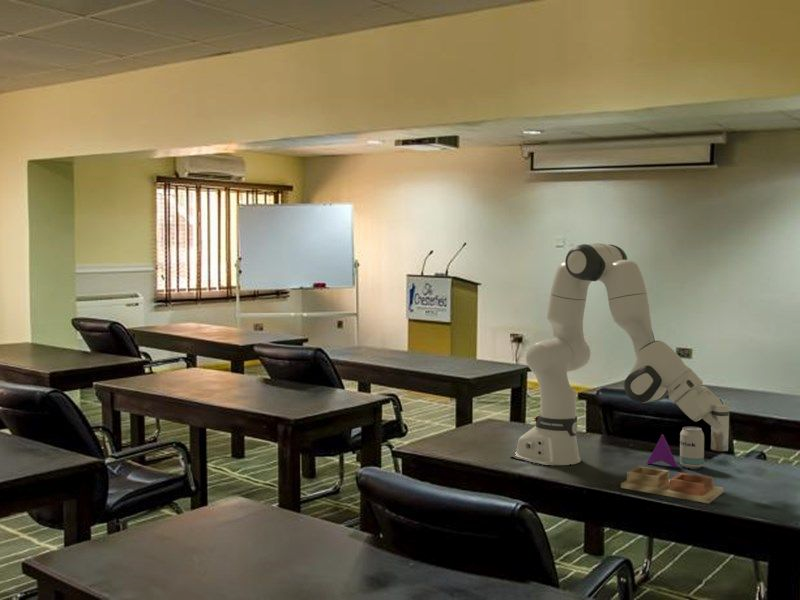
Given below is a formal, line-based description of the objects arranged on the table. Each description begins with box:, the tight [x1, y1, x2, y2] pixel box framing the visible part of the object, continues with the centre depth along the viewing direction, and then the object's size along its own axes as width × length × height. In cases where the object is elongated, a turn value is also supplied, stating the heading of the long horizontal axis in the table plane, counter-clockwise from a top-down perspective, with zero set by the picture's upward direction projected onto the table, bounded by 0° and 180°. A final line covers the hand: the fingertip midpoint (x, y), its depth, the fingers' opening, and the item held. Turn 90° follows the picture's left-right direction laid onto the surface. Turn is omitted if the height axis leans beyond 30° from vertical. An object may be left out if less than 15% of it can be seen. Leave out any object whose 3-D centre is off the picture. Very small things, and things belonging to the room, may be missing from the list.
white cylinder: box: [710, 404, 730, 452], centre depth 217 cm, size 5×5×12 cm
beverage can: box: [679, 426, 705, 470], centre depth 244 cm, size 7×7×12 cm
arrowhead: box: [646, 434, 678, 469], centre depth 246 cm, size 10×2×10 cm
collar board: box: [620, 465, 724, 504], centre depth 220 cm, size 24×13×4 cm, turn 52°
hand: (722, 426), depth 217 cm, fingers closed on white cylinder, 4 cm apart
